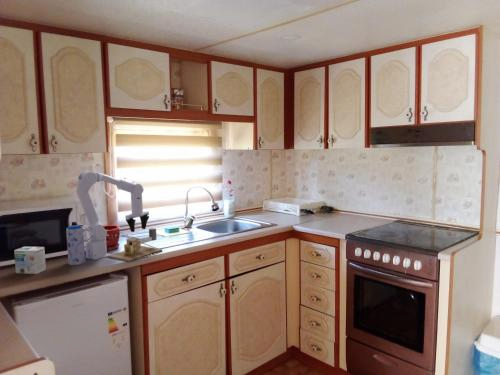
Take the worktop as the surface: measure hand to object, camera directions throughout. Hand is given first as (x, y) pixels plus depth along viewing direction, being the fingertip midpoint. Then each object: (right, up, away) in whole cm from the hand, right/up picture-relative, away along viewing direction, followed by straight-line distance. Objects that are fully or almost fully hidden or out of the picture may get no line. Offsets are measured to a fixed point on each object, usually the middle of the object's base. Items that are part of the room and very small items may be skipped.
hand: (138, 230), depth 213 cm
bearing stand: (+1, -11, -9) cm, 15 cm away
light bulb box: (-39, -15, -34) cm, 54 cm away
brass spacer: (-1, -11, -13) cm, 17 cm away
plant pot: (-18, -11, +3) cm, 21 cm away
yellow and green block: (+5, -6, -4) cm, 9 cm away
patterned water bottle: (-24, -14, -21) cm, 35 cm away
